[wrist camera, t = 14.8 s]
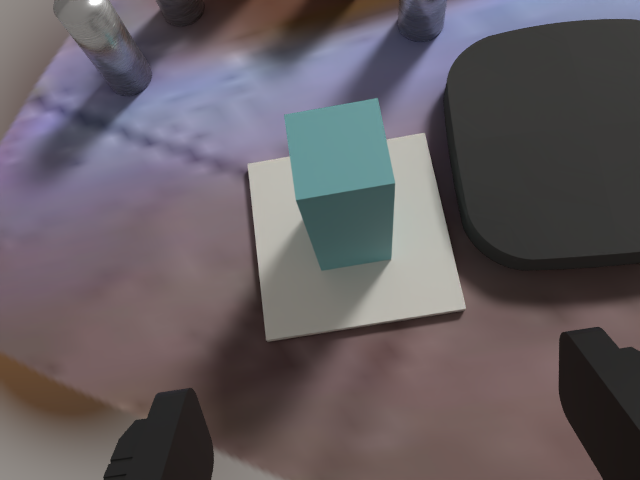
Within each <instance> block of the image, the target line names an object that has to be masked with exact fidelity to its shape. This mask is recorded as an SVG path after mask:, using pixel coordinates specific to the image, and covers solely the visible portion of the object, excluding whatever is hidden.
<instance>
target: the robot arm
mask: <svg viewBox="0 0 640 480" xmlns="http://www.w3.org/2000/svg"><path fill="white" fill-rule="evenodd" d="M559 396H560V401H561V404H562V408H563V411H564V413H565V415H566V418H567V419H568V421H569V423H570V424H571V426H572V428H573V430H574V431H575V433H576V435H577V436H578V438H579V440H580V441H581V443H582V445H583V446H584V448H585V450H586V451H587V453H588V455H589V456H590V458H591V460H592V461H593V463H594V465H595V466H596V468H597V470H598V471H599V473H600V475H601V476H602V478H603V480H640V351H638V350H636V349H634V348H633V347H627V348H621V349H619V348H618V346H617V345H616V344H615V343H614V342H613V341H612V339H611V338H610V337H609V336H608V335H607V334H606V332H605V331H604V330H603V329H602V328H600V327H594V328H587V329H581V330H574V331H568V332H563V333H561V335H560V339H559ZM213 464H214V453H213V445H212V440H211V437H210V434H209V431H208V428H207V425H206V422H205V419H204V416H203V413H202V410H201V407H200V404H199V401H198V398H197V395H196V393H195V391H194V390H193V389H192V388H187V389H181V390H174V391H167V392H161V393H158V394H157V395H156V396H155V398H154V401H153V403H152V406H151V409H150V412H149V414H148V417H147V419H141V420H135V421H134V423H133V424H132V425H131V426H130V427H129V428H128V430H127V431H126V432H125V433H124V434H123V435H122V437H121V438H120V439H119V440H118V443H117V445H116V448H115V450H114V453H113V455H112V457H111V464H109V465H108V467H107V470H106V472H105V474H104V477H103V478H104V480H211V477H212V472H213Z"/></svg>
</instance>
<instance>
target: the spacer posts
mask: <svg viewBox="0 0 640 480" xmlns="http://www.w3.org/2000/svg"><path fill="white" fill-rule="evenodd" d="M156 2H157V4H158V6H159V8H160V10H161V12H162V14H163V16H164V17H165V19H166V21H167V22H169V23H170V24H172V25H175V26H186V25H189V24H192V23H193V22H195V21H196V20H198V19H199V18H200V16H201V15H202V13H203V11H204V2H203V0H156ZM446 4H447V0H399V13H398V27H399V30H400V32H401V33H402V35H403V36H405V37H406V38H408V39H410V40H412V41H418V42H423V41H428V40H431V39H433V38H435V37H436V36H437V35H438V34H439V33H440V32H441V31H442V29H443V25H444V18H445V11H446ZM53 9H54V13H55V15H56V17H57V18H58V19H59V21H60V22H61V23H62V24H63V26H64V27H65V28H66V30H67V31H68V32H69V34H70V35H71V36H72V37H73V39H74V40H75V41H76V43H77V44H78V45H79V47H80V48H81V49H82V50H83V52H84V53H85V54H86V56H87V57H88V58H89V59H90V61H91V62H92V63H93V65H94V66H95V67H96V68H97V70H98V71H99V72H100V74H101V75H102V76H103V78H104V79H105V80H106V81H107V83H108V84H109V85H110V87H111V88H112V89H113V90H114V91H115V92H116V93H118V94H120V95H124V96H130V95H135V94H137V93H139V92H141V91H142V90H144V89H145V88H146V87H147V86H148V84H149V83H150V81H151V78H152V69H151V67H150V65H149V64H148V62H147V60H146V59H145V57H144V56H143V54H142V52H141V51H140V49H139V48H138V46H137V44H136V43H135V41H134V40H133V38H132V36H131V35H130V33H129V32H128V30H127V28H126V27H125V25H124V24H123V22H122V20H121V19H120V17H119V16H118V14H117V12H116V11H115V9H114V8H113V6H112V4H111V3H110V1H109V0H55V1H54V6H53Z"/></svg>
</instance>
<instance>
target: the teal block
mask: <svg viewBox="0 0 640 480" xmlns="http://www.w3.org/2000/svg"><path fill="white" fill-rule="evenodd" d="M284 117H285V125H286V132H287V139H288V147H289V154H290V161H291V169H292V176H293V183H294V191H295V198H296V202H297V205H298V208H299V210H300V213H301V216H302V219H303V221H304V224H305V227H306V230H307V232H308V235H309V238H310V241H311V244H312V246H313V249H314V252H315V255H316V257H317V260H318V263H319V266H320V268H321V271H323V270H329V269H336V268H342V267H348V266H354V265H360V264H366V263H372V262H378V261H384V260H390V259H391V256H392V237H393V218H394V199H395V179H394V174H393V169H392V165H391V160H390V155H389V150H388V145H387V140H386V136H385V131H384V126H383V121H382V116H381V111H380V107H379V102H378V98H375V99H369V100H364V101H358V102H353V103H347V104H342V105H336V106H331V107H325V108H319V109H314V110H308V111H303V112H297V113H292V114H286V115H284Z"/></svg>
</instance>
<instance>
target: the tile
mask: <svg viewBox="0 0 640 480" xmlns="http://www.w3.org/2000/svg"><path fill="white" fill-rule="evenodd" d="M387 145H388V150H389V155H390V160H391V165H392V169H393V174H394V179H395V199H394V218H393V237H392V256H391V259H390V260H384V261H378V262H372V263H366V264H360V265H354V266H348V267H342V268H336V269H329V270H323V271H321V268H320V266H319V263H318V260H317V257H316V255H315V252H314V249H313V246H312V244H311V241H310V238H309V235H308V232H307V230H306V227H305V224H304V221H303V219H302V216H301V213H300V210H299V208H298V205H297V202H296V198H295V191H294V183H293V176H292V169H291V161H290V157H284V158H279V159H273V160H267V161H262V162H256V163H250V164H248V172H249V182H250V191H251V201H252V210H253V220H254V230H255V239H256V249H257V258H258V268H259V277H260V287H261V296H262V306H263V316H264V325H265V335H266V341H267V342H270V341H276V340H283V339H289V338H295V337H301V336H308V335H314V334H320V333H327V332H333V331H339V330H346V329H352V328H358V327H365V326H371V325H377V324H383V323H390V322H396V321H402V320H409V319H415V318H421V317H428V316H434V315H440V314H447V313H453V312H459V311H465V309H466V306H465V302H464V298H463V294H462V289H461V285H460V281H459V276H458V272H457V268H456V264H455V259H454V255H453V251H452V247H451V242H450V238H449V234H448V230H447V225H446V221H445V217H444V213H443V208H442V204H441V200H440V196H439V191H438V187H437V183H436V179H435V174H434V170H433V166H432V162H431V157H430V153H429V149H428V145H427V140H426V136H425V133H421V134H415V135H410V136H404V137H398V138H393V139H387Z"/></svg>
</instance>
